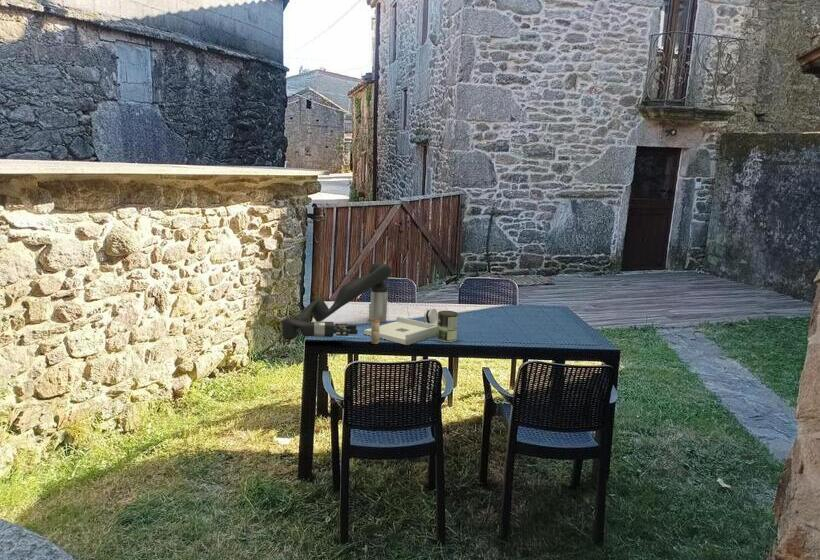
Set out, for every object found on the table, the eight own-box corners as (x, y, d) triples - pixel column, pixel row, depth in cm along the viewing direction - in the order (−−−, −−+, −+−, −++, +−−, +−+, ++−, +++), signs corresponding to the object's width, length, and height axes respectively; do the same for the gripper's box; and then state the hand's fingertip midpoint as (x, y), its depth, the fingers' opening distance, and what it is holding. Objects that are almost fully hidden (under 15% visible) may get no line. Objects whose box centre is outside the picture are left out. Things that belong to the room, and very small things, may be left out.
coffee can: (436, 341, 320) (438, 314, 318) (436, 336, 330) (437, 310, 328) (457, 342, 320) (458, 315, 318) (456, 337, 330) (457, 311, 328)
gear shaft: (369, 342, 313) (369, 319, 311) (374, 341, 317) (375, 317, 315) (375, 344, 311) (376, 320, 309) (380, 342, 314) (381, 319, 312)
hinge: (435, 328, 346) (430, 311, 345) (427, 330, 348) (422, 313, 347) (442, 322, 362) (437, 305, 361) (434, 324, 363) (429, 307, 363)
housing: (364, 334, 328) (364, 325, 327) (397, 325, 350) (398, 316, 350) (407, 345, 312) (407, 335, 311) (439, 334, 334) (439, 325, 333)
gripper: (323, 332, 316) (355, 333, 319) (323, 340, 302) (357, 341, 305) (323, 318, 315) (356, 318, 317) (324, 325, 301) (358, 326, 303)
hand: (356, 329), depth 311 cm, fingers open, 8 cm apart
